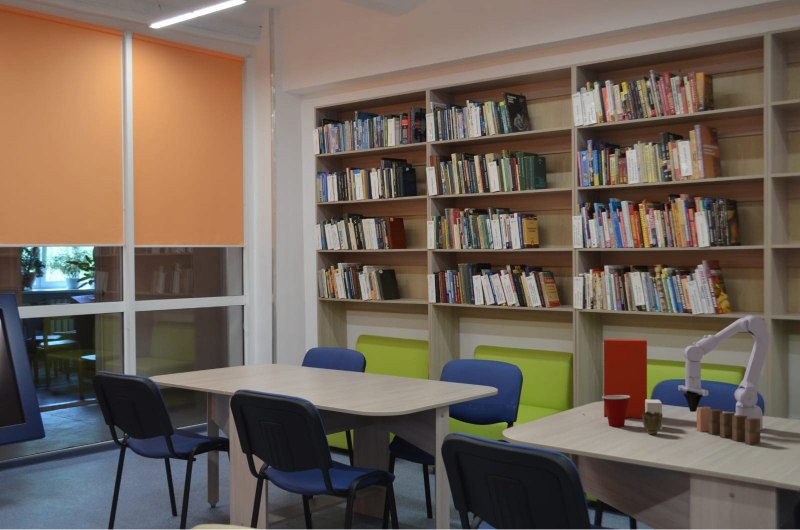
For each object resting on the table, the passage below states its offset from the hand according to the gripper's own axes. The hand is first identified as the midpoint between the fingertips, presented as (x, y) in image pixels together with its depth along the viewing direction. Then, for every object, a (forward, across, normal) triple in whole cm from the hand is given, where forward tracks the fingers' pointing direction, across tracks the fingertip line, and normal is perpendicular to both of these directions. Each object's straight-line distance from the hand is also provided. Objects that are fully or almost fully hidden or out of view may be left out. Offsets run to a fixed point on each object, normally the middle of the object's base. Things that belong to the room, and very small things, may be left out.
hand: (693, 411), depth 315 cm
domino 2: (+6, +12, 0) cm, 13 cm away
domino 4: (+6, +24, 0) cm, 25 cm away
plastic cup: (+7, -15, -25) cm, 30 cm away
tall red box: (+7, -30, -9) cm, 32 cm away
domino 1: (+6, +6, 0) cm, 9 cm away
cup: (+7, +3, -22) cm, 23 cm away
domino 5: (+6, +30, 0) cm, 30 cm away
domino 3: (+6, +18, 0) cm, 19 cm away
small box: (+7, -6, -14) cm, 17 cm away
